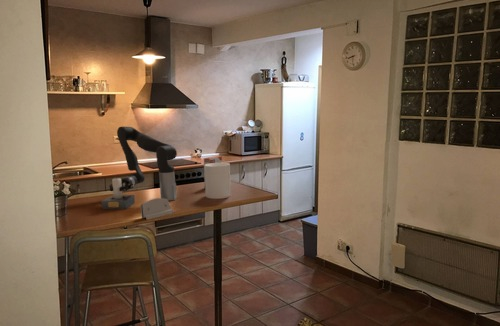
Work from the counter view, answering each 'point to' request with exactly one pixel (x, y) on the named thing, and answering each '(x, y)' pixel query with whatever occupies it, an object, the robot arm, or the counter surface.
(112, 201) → the socket block
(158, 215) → the hinge
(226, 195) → the canister
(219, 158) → the cracker box
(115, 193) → the peg
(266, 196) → the counter surface
